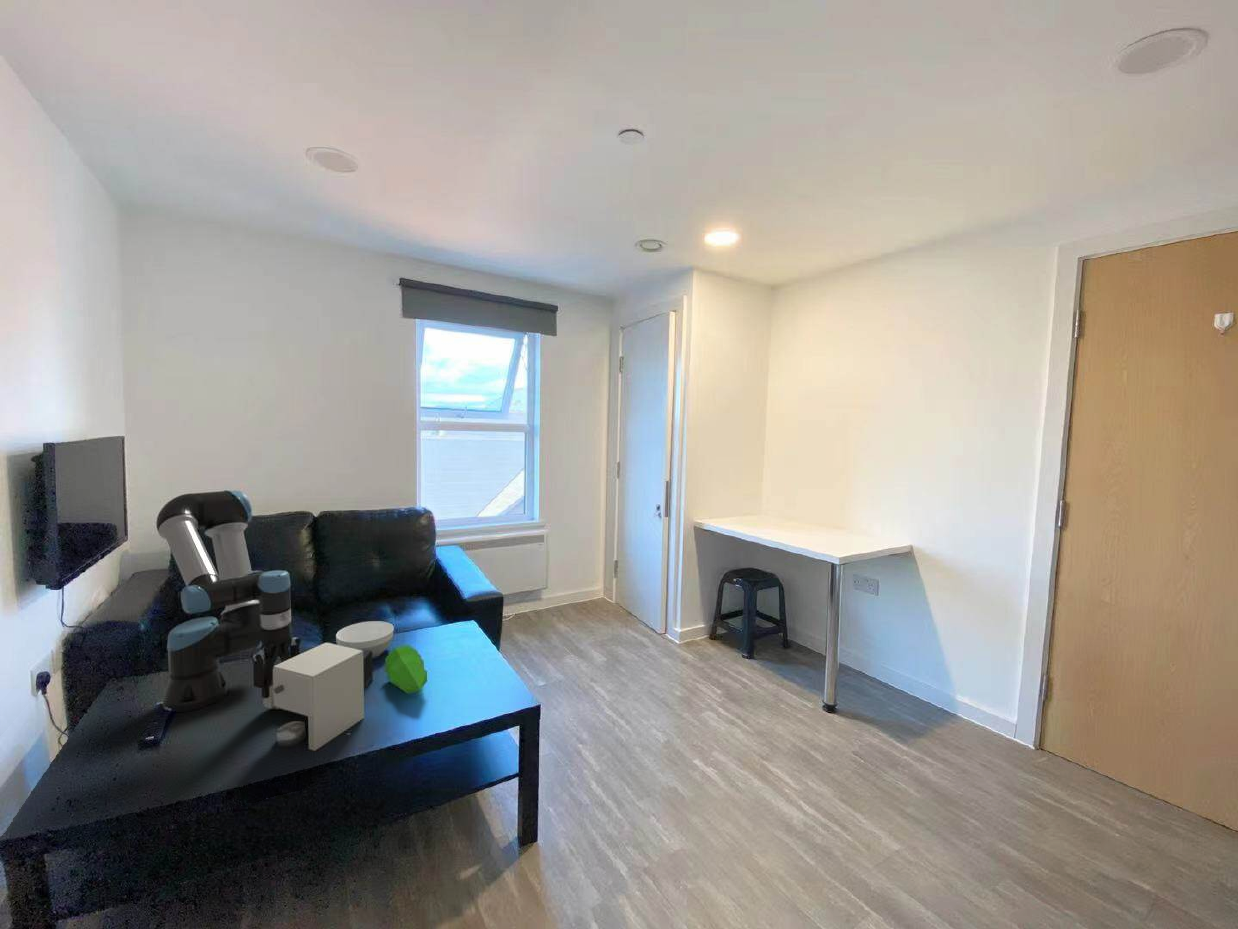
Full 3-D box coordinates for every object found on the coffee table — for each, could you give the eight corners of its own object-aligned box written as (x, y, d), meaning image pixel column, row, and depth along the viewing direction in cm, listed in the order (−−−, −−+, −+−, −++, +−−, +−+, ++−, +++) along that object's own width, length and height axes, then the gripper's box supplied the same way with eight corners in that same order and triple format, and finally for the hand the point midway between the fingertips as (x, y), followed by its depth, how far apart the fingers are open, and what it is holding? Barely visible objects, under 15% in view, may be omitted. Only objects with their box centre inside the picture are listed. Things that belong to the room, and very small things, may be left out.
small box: (373, 679, 170) (373, 649, 169) (364, 690, 163) (364, 658, 163) (341, 679, 170) (340, 648, 169) (330, 689, 163) (330, 657, 162)
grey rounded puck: (272, 748, 134) (271, 737, 134) (284, 732, 141) (283, 722, 140) (299, 745, 135) (298, 734, 135) (309, 730, 142) (308, 719, 141)
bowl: (385, 639, 201) (385, 617, 200) (400, 657, 186) (400, 633, 186) (331, 651, 189) (330, 628, 188) (342, 672, 174) (342, 647, 174)
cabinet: (268, 742, 136) (266, 669, 134) (327, 707, 153) (326, 642, 151) (307, 755, 131) (305, 680, 130) (364, 718, 148) (363, 650, 147)
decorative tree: (406, 632, 179) (429, 663, 154) (420, 658, 182) (445, 693, 157) (373, 651, 173) (392, 686, 149) (388, 678, 176) (409, 718, 152)
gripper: (253, 638, 140) (257, 721, 142) (313, 616, 157) (315, 690, 159) (234, 634, 143) (238, 715, 144) (295, 612, 160) (297, 685, 161)
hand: (278, 702), depth 152 cm, fingers closed on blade, 5 cm apart
